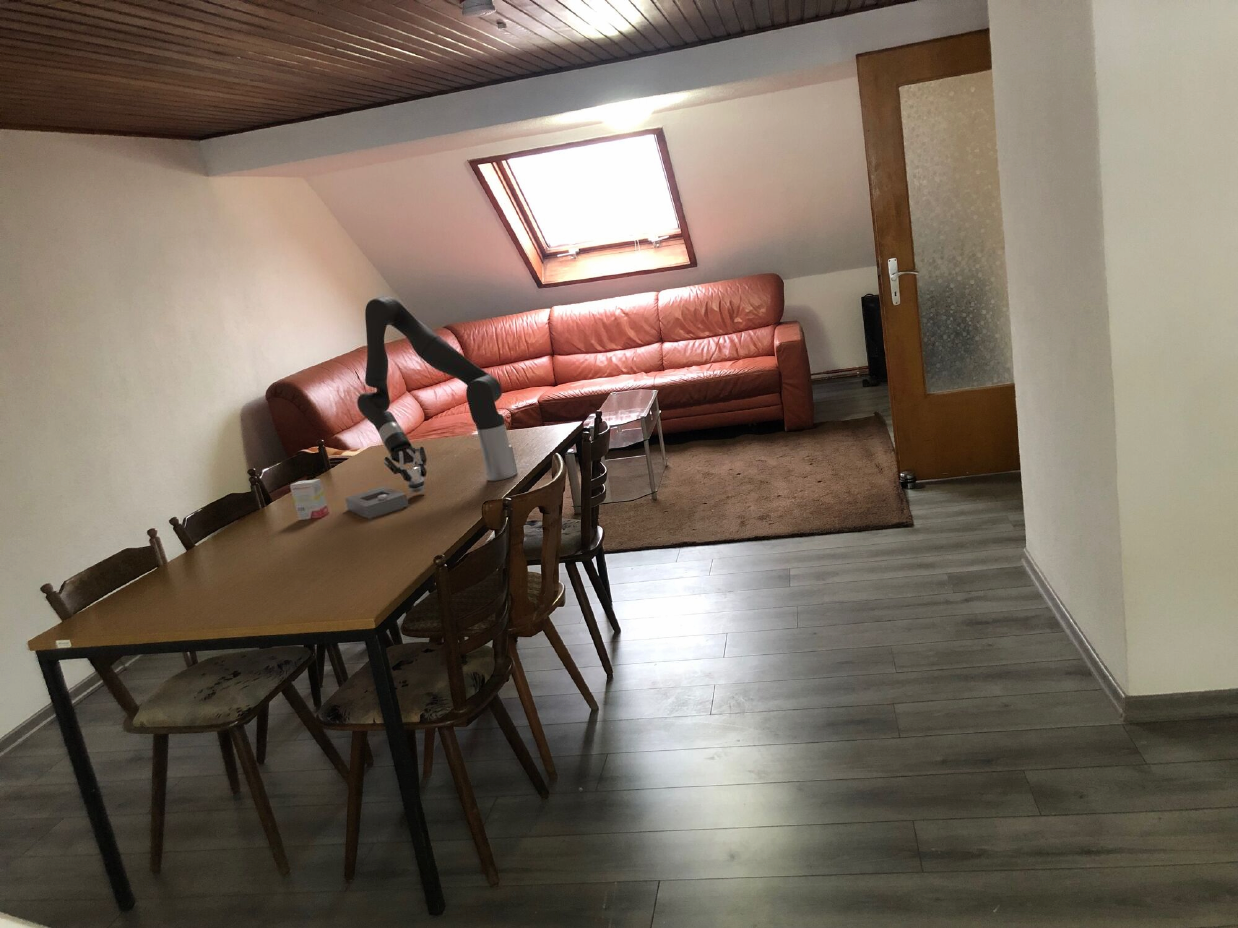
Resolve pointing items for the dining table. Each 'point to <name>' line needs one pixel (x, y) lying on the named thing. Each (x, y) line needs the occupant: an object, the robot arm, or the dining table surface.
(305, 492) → the ink box
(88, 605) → the dining table surface
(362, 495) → the grey slotted tray
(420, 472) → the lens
